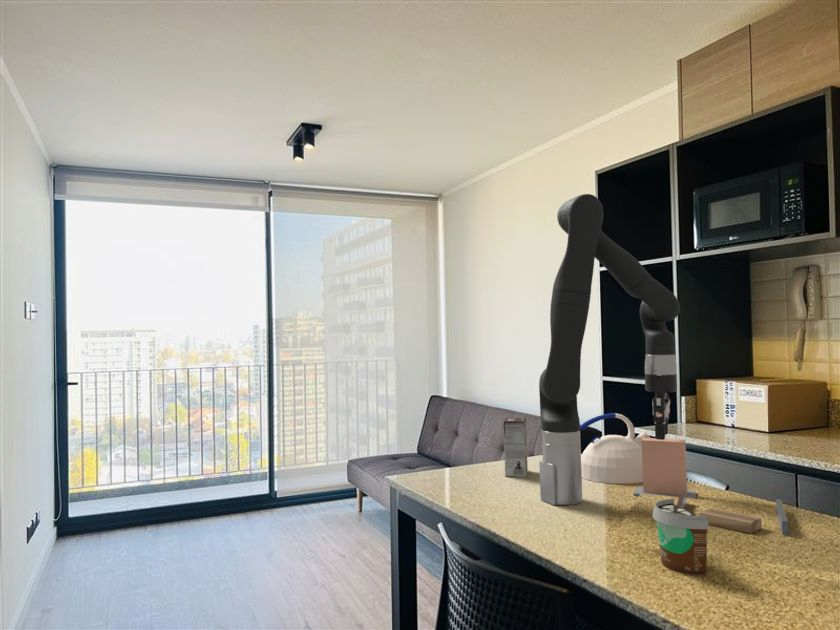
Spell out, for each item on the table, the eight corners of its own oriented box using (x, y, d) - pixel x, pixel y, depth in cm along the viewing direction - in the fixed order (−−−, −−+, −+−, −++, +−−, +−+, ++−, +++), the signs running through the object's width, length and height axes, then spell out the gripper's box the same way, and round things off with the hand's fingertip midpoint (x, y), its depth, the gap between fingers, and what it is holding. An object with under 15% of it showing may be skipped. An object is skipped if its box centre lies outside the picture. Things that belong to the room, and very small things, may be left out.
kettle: (665, 483, 168) (662, 416, 169) (588, 485, 168) (586, 418, 169) (639, 468, 188) (637, 408, 189) (571, 469, 188) (569, 409, 189)
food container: (642, 554, 114) (640, 499, 114) (674, 552, 114) (672, 497, 115) (675, 580, 102) (672, 518, 102) (711, 578, 102) (708, 516, 103)
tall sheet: (686, 495, 152) (684, 442, 153) (643, 492, 157) (641, 440, 157) (687, 491, 156) (685, 439, 156) (645, 488, 160) (643, 437, 161)
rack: (788, 542, 118) (787, 521, 118) (675, 530, 127) (674, 510, 127) (782, 518, 134) (781, 499, 134) (681, 509, 143) (680, 491, 143)
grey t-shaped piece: (694, 500, 149) (694, 498, 149) (633, 495, 156) (633, 493, 156) (696, 493, 157) (696, 490, 157) (638, 488, 163) (637, 486, 163)
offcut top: (751, 533, 120) (750, 522, 120) (699, 522, 127) (699, 512, 127) (761, 528, 123) (761, 517, 123) (711, 518, 131) (710, 508, 131)
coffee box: (506, 470, 189) (505, 417, 190) (528, 470, 188) (526, 417, 189) (504, 476, 180) (503, 421, 181) (527, 477, 179) (525, 421, 180)
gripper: (648, 370, 166) (649, 432, 165) (641, 373, 153) (642, 440, 152) (678, 371, 162) (679, 434, 162) (674, 374, 149) (675, 442, 149)
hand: (661, 436), depth 157 cm, fingers open, 8 cm apart
